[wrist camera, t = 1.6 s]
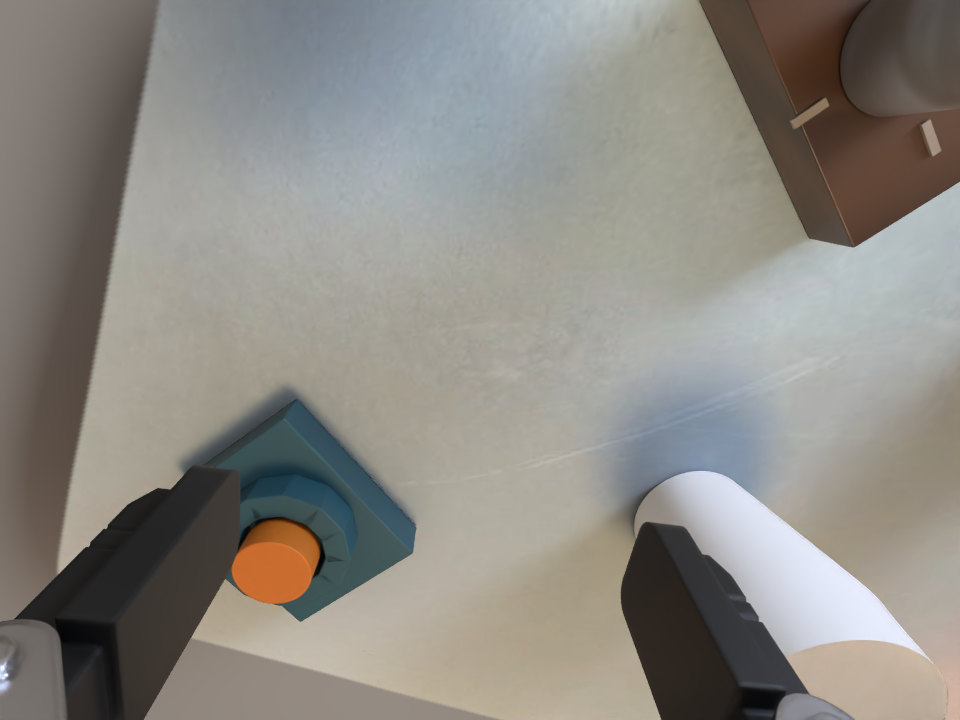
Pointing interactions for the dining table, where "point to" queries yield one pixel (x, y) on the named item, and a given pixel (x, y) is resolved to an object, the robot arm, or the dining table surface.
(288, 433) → the button block
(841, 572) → the cup
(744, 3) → the dial panel
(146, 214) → the dining table surface
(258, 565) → the push button
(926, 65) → the dial
